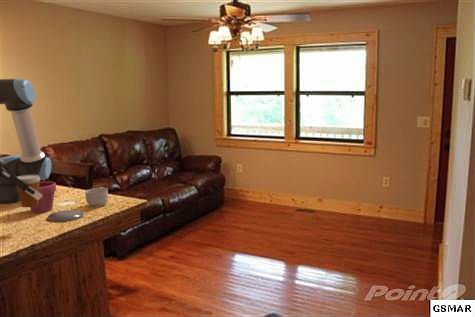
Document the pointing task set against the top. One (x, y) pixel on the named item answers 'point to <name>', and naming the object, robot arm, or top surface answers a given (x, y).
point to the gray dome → (65, 215)
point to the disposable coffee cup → (24, 196)
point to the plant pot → (45, 197)
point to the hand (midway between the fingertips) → (37, 195)
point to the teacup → (97, 196)
